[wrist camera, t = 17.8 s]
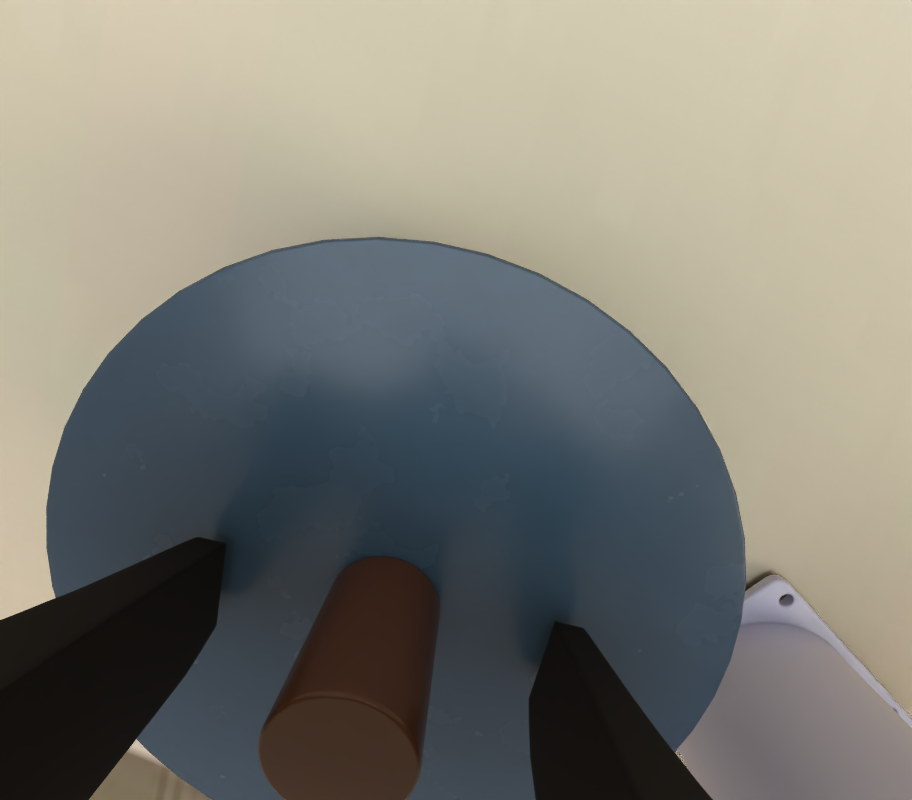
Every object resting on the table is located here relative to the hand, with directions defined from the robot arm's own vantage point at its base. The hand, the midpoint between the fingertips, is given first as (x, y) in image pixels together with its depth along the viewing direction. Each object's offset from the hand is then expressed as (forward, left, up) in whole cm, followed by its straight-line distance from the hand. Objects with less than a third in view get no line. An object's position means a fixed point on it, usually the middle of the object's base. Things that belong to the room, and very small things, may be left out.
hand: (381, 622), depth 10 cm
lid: (0, 0, -1) cm, 1 cm away
